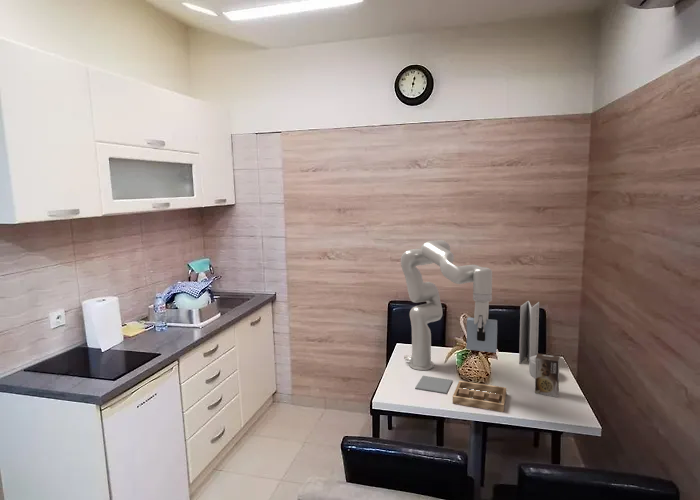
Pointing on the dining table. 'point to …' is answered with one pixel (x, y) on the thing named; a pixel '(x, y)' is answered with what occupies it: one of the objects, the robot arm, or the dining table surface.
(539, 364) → the cookie box
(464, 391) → the offcut
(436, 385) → the mat
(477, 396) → the offcut
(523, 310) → the brochure
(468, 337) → the panel
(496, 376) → the dining table surface
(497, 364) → the dining table surface
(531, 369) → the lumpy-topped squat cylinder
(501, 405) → the tray
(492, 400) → the offcut
